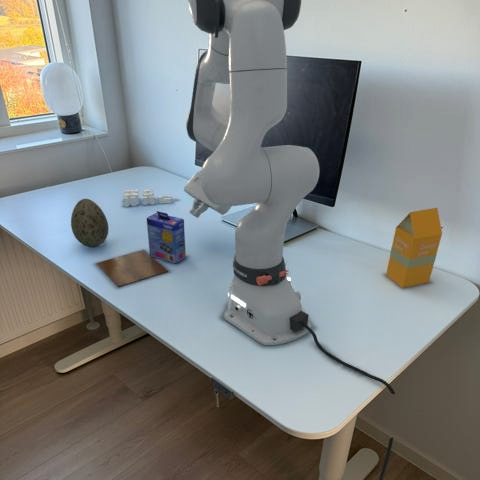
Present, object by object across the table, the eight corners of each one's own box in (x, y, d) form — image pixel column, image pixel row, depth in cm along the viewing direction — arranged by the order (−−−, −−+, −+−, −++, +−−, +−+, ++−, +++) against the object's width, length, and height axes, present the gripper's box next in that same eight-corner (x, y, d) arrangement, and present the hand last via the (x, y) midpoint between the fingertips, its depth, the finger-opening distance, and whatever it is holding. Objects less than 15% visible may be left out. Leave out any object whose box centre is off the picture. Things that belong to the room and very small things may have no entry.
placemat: (143, 250, 142) (143, 249, 142) (167, 271, 131) (167, 270, 131) (96, 264, 135) (96, 262, 135) (118, 287, 124) (118, 286, 124)
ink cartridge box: (148, 256, 138) (144, 209, 130) (159, 249, 142) (156, 204, 134) (176, 264, 134) (174, 216, 126) (186, 257, 139) (184, 210, 130)
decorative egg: (94, 235, 151) (85, 190, 142) (118, 242, 146) (111, 197, 138) (68, 248, 143) (57, 201, 135) (93, 256, 139) (84, 208, 130)
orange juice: (385, 274, 130) (399, 206, 118) (411, 269, 132) (427, 202, 121) (402, 288, 124) (419, 218, 112) (429, 282, 126) (448, 213, 115)
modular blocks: (124, 206, 171) (122, 196, 169) (124, 200, 177) (123, 190, 175) (177, 203, 175) (176, 192, 172) (176, 196, 180) (175, 186, 178)
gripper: (195, 161, 140) (169, 199, 141) (233, 179, 126) (204, 221, 127) (208, 173, 145) (183, 209, 146) (246, 192, 131) (218, 232, 132)
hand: (193, 215), depth 137 cm, fingers closed
